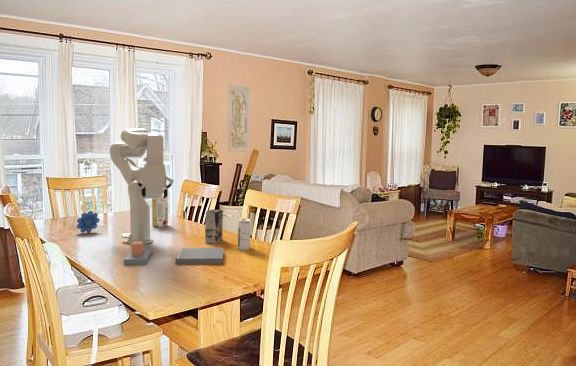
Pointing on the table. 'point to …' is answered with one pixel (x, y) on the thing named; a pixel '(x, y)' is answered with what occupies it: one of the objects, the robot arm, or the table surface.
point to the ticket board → (199, 256)
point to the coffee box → (213, 226)
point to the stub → (138, 254)
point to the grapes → (88, 222)
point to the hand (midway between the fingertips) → (154, 197)
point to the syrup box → (244, 234)
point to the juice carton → (160, 211)
